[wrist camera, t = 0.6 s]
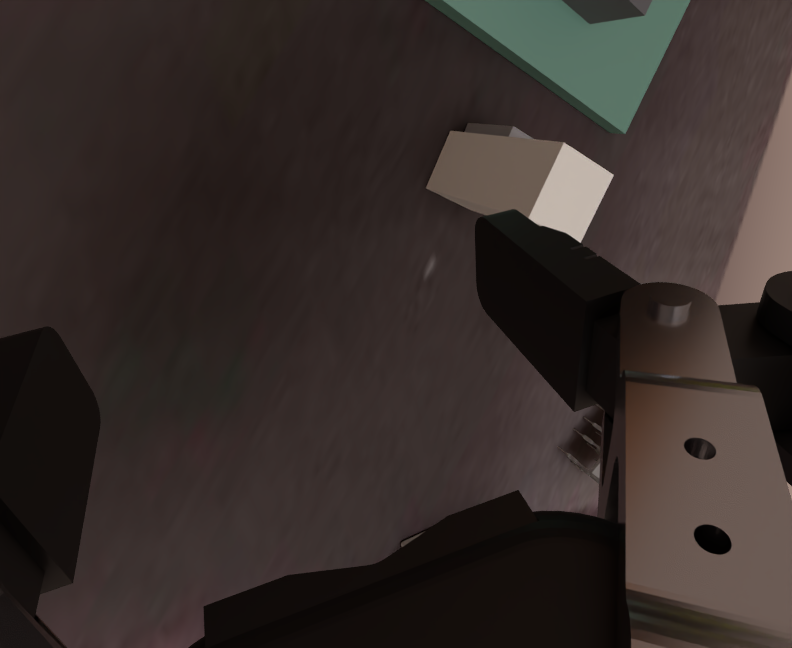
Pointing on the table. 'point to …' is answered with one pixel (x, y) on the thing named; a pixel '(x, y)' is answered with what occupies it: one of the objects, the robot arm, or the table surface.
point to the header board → (578, 46)
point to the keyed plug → (520, 177)
